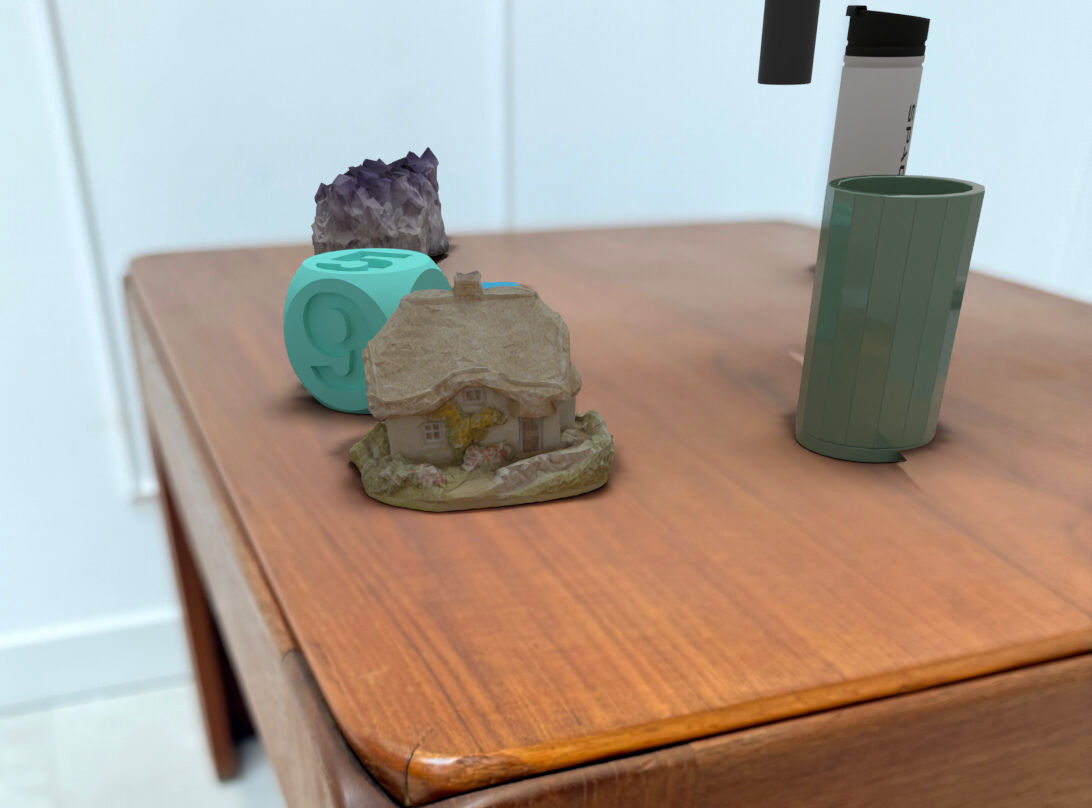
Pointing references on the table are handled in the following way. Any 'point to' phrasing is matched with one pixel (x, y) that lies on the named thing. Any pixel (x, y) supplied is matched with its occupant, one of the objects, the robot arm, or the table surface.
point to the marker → (788, 42)
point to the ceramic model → (476, 403)
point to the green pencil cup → (884, 312)
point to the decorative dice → (347, 316)
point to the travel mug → (877, 93)
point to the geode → (382, 208)
